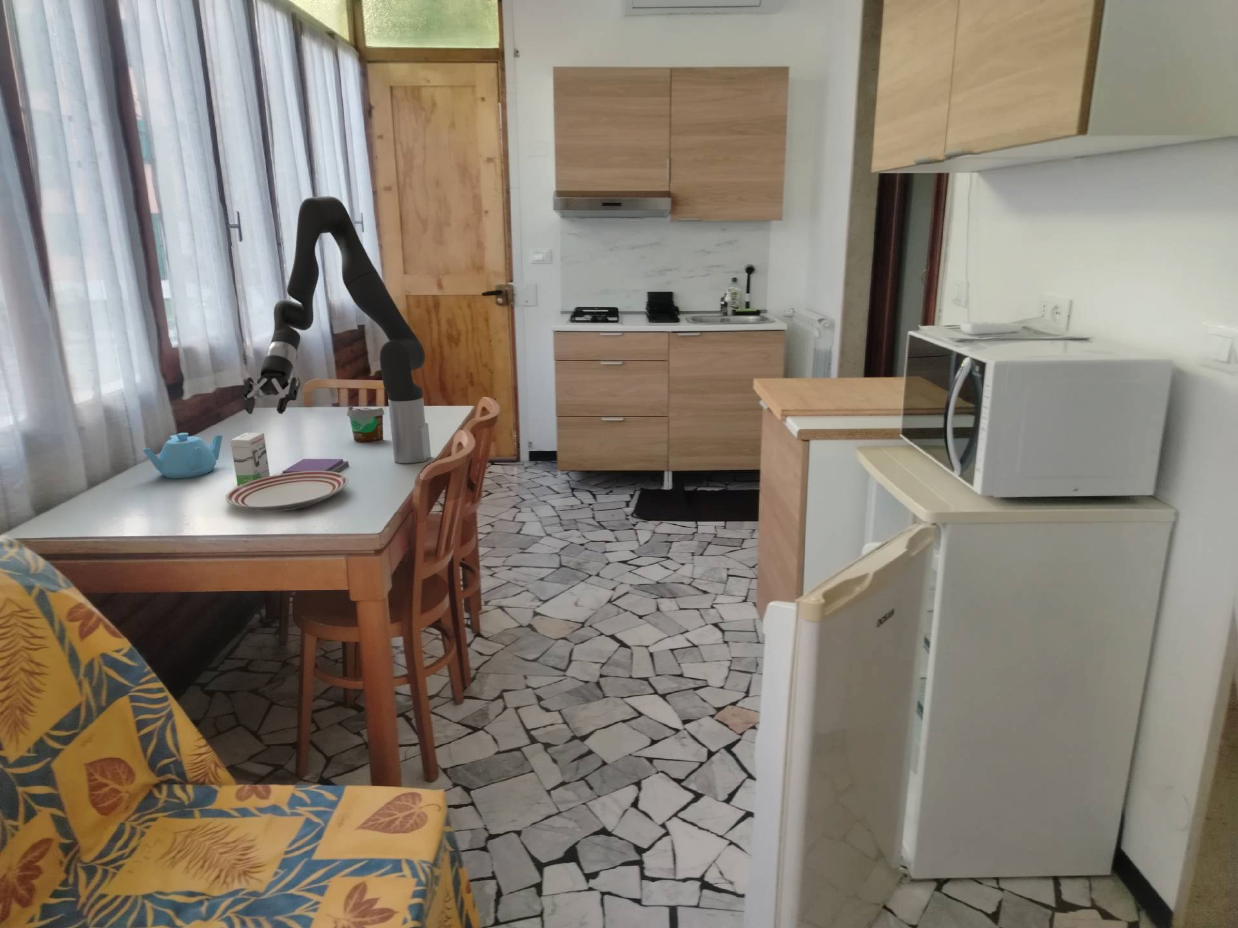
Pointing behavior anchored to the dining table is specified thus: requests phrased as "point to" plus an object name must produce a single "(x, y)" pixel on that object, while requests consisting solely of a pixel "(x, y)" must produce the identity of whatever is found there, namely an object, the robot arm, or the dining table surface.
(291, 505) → the dinner plate
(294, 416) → the dining table surface
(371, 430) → the food container
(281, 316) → the robot arm
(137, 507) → the dining table surface
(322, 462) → the ink pad
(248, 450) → the ink box
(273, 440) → the dining table surface
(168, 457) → the teapot
